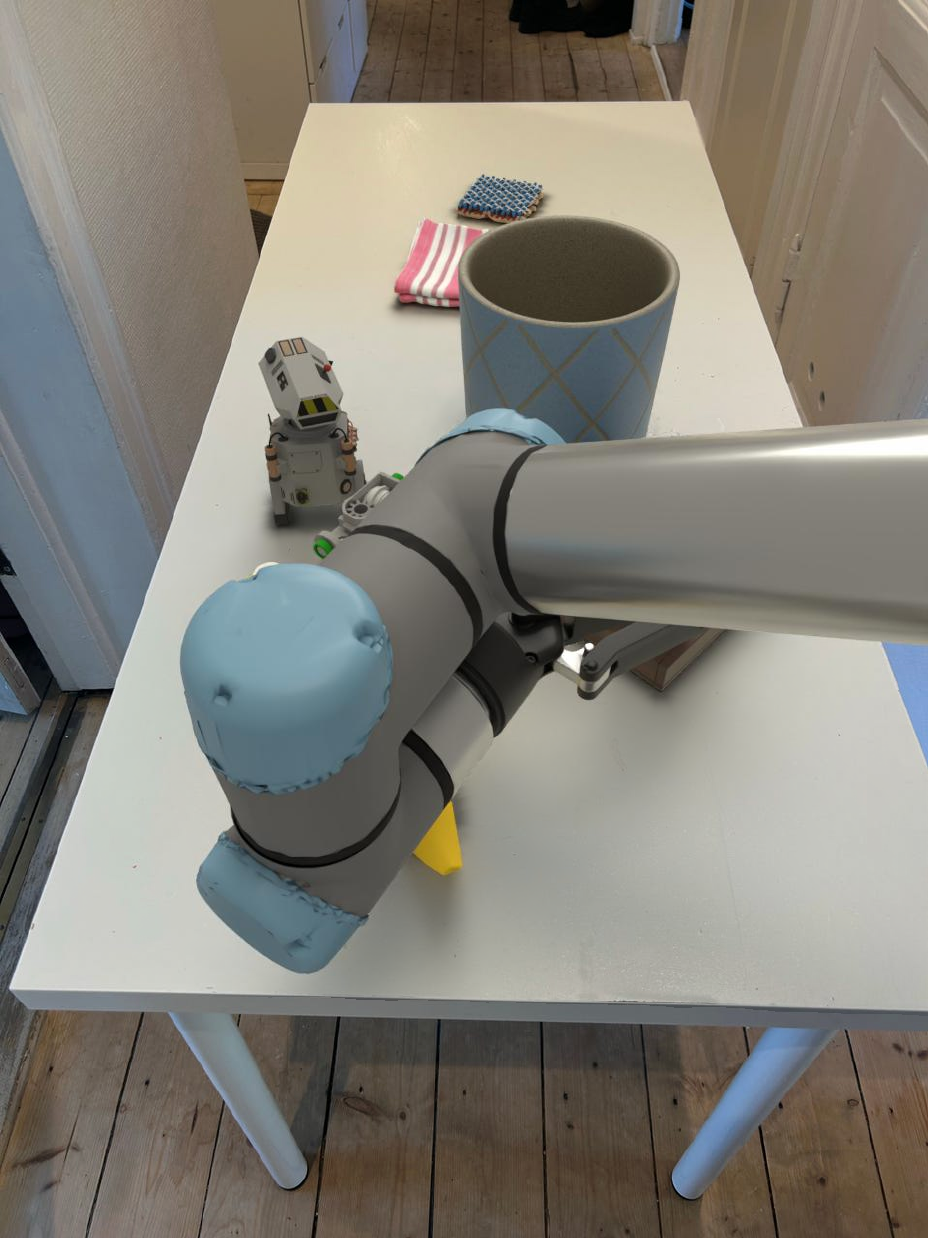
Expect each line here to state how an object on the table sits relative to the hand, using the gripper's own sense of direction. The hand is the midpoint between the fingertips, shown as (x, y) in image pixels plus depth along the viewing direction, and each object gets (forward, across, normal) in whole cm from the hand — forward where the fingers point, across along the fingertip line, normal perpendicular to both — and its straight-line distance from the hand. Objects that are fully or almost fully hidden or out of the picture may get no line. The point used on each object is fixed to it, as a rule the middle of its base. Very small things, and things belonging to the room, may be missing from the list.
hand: (618, 478), depth 60 cm
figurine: (+4, -32, -19) cm, 38 cm away
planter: (+22, -16, -20) cm, 34 cm away
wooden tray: (+10, 0, -19) cm, 22 cm away
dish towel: (+48, -39, -19) cm, 65 cm away
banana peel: (-18, -9, -20) cm, 28 cm away
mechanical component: (-4, -20, -20) cm, 28 cm away
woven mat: (+66, -49, -19) cm, 84 cm away
